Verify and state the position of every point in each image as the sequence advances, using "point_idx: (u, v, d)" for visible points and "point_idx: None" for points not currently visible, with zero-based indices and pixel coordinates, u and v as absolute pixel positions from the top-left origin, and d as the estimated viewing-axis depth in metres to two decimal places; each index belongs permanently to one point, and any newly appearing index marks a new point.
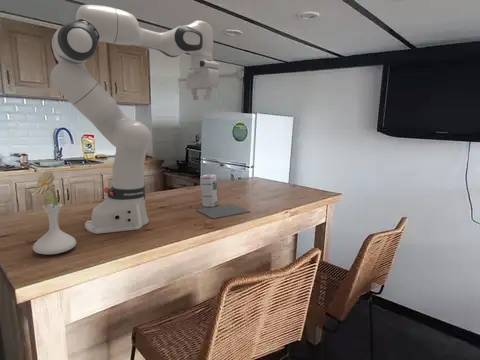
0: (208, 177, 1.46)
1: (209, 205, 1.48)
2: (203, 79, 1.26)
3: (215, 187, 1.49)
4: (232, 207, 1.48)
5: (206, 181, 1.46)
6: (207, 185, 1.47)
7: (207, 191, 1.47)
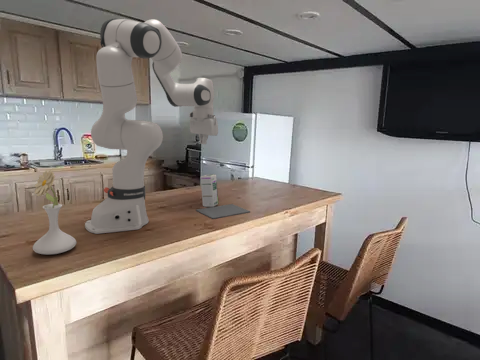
0: (208, 177, 1.46)
1: (209, 205, 1.48)
2: None
3: (215, 187, 1.49)
4: (232, 207, 1.48)
5: (206, 181, 1.46)
6: (207, 185, 1.47)
7: (207, 191, 1.47)
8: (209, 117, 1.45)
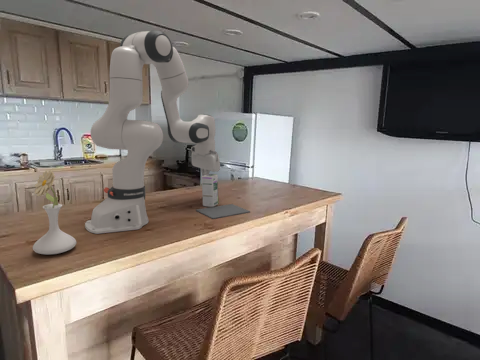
0: (209, 177, 1.45)
1: (209, 205, 1.48)
2: None
3: (216, 187, 1.49)
4: (232, 207, 1.48)
5: (207, 181, 1.46)
6: (208, 185, 1.46)
7: (208, 191, 1.47)
8: (211, 153, 1.46)
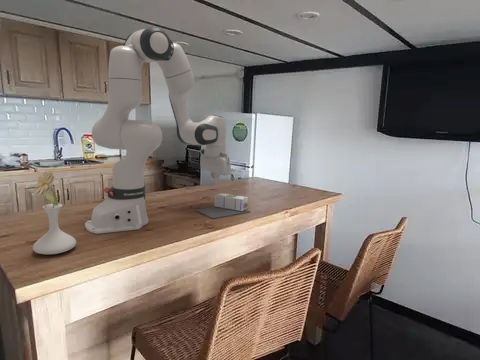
0: (241, 208, 1.41)
1: (215, 202, 1.47)
2: None
3: None
4: None
5: (237, 204, 1.42)
6: (233, 205, 1.43)
7: (228, 203, 1.44)
8: (221, 156, 1.39)
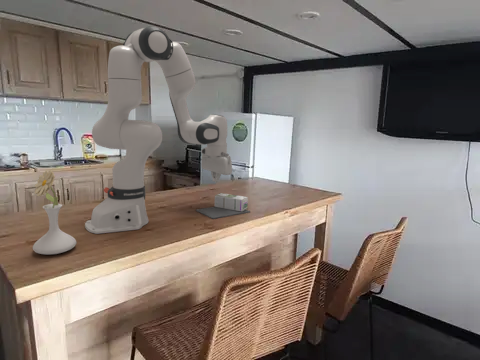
0: (241, 208, 1.41)
1: (215, 202, 1.47)
2: None
3: None
4: None
5: (237, 205, 1.42)
6: (233, 205, 1.43)
7: (228, 203, 1.44)
8: (223, 155, 1.38)
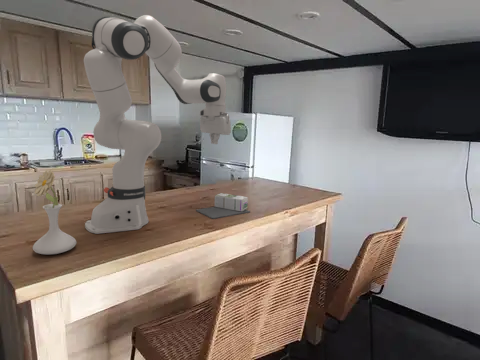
0: (241, 208, 1.41)
1: (215, 202, 1.47)
2: None
3: None
4: None
5: (237, 205, 1.42)
6: (233, 205, 1.43)
7: (228, 203, 1.44)
8: (221, 115, 1.36)
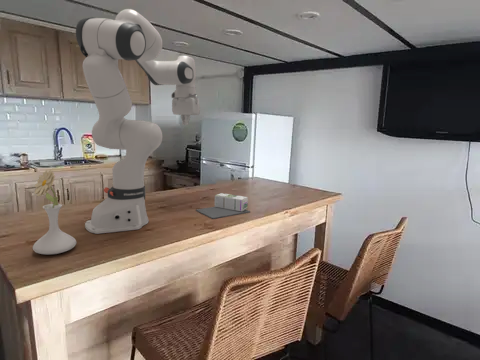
0: (241, 208, 1.41)
1: (215, 202, 1.47)
2: None
3: None
4: None
5: (237, 205, 1.42)
6: (233, 205, 1.43)
7: (228, 203, 1.44)
8: (191, 96, 1.41)
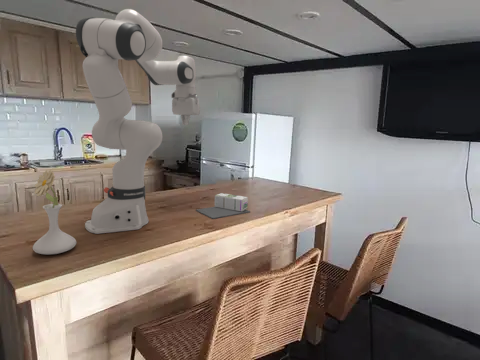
0: (241, 208, 1.41)
1: (215, 202, 1.47)
2: None
3: None
4: None
5: (237, 205, 1.42)
6: (233, 205, 1.43)
7: (228, 203, 1.44)
8: (190, 96, 1.41)
